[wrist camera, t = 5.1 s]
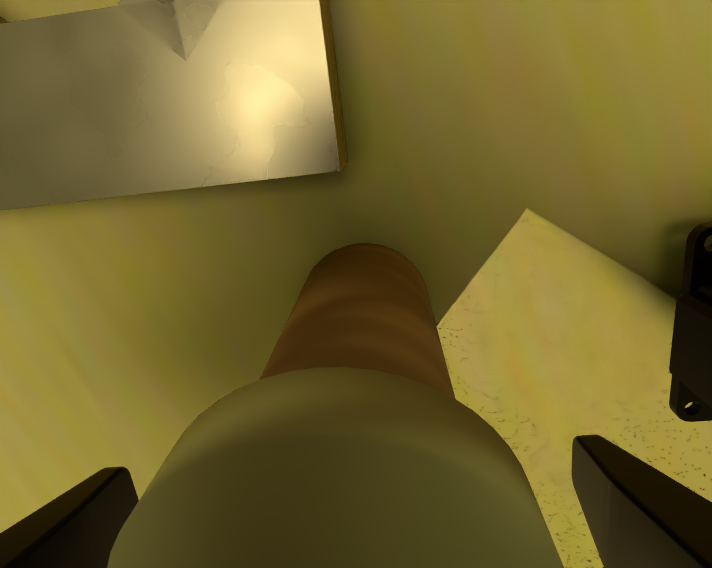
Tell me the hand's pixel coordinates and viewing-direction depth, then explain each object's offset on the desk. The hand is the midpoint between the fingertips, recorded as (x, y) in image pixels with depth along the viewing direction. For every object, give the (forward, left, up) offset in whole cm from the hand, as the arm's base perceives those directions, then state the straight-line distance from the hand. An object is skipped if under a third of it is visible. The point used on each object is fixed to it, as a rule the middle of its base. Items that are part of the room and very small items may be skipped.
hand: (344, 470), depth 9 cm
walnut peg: (0, 0, -8) cm, 9 cm away
